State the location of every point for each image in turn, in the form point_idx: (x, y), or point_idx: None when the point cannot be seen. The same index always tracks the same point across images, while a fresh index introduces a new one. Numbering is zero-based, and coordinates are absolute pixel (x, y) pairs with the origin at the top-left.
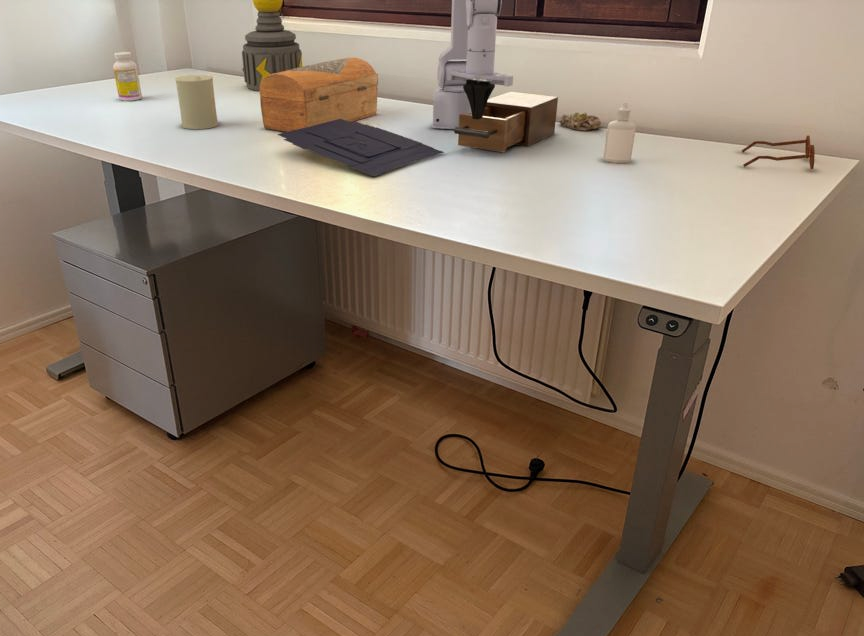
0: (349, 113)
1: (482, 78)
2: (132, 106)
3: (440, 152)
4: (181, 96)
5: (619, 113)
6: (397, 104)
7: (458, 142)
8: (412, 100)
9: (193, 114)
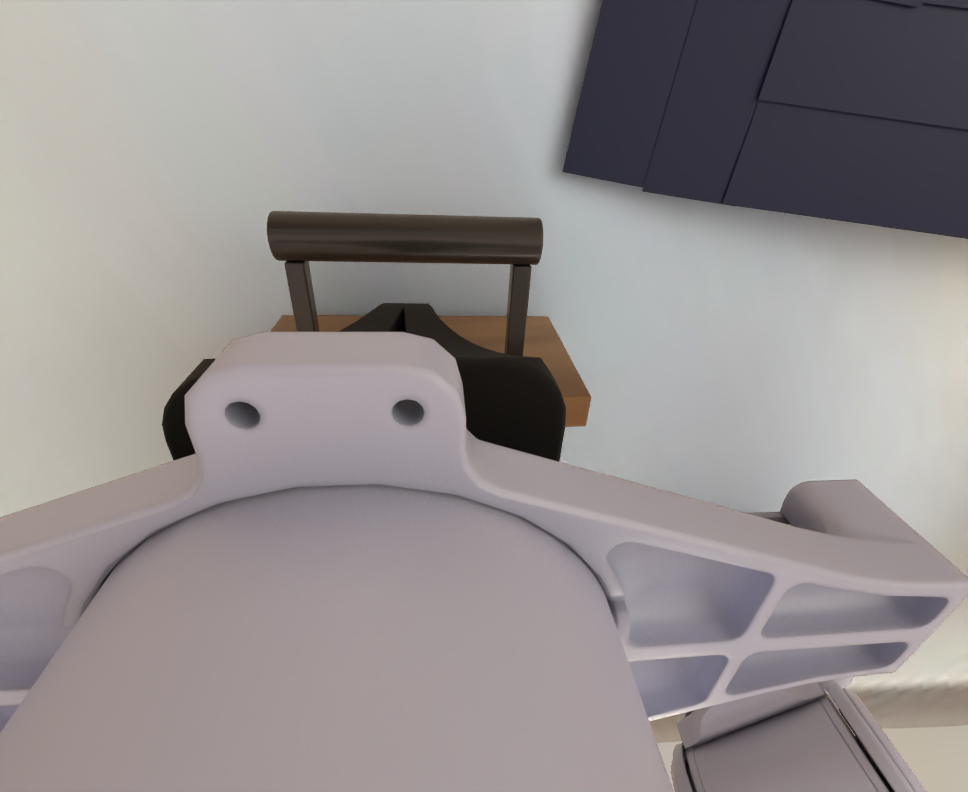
0: None
1: (130, 482)
2: None
3: (581, 151)
4: None
5: None
6: (927, 660)
7: (548, 320)
8: (885, 699)
9: None
